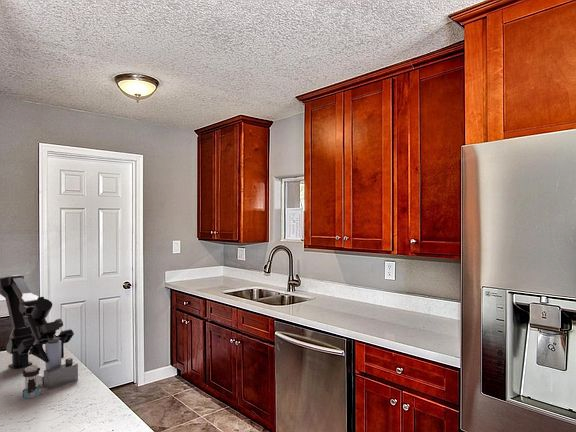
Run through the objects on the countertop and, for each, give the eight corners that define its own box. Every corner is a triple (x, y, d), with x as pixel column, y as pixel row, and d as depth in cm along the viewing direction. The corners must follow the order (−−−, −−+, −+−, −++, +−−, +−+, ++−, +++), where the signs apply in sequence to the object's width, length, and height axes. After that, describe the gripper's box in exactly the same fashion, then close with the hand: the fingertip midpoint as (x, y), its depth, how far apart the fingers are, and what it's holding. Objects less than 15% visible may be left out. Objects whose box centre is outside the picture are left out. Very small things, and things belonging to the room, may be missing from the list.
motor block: (36, 384, 154) (36, 362, 154) (64, 375, 163) (64, 354, 163) (50, 389, 150) (49, 366, 150) (77, 379, 158) (77, 358, 158)
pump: (42, 377, 157) (42, 339, 157) (56, 373, 161) (56, 336, 161) (50, 380, 154) (50, 341, 154) (64, 376, 159) (64, 338, 159)
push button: (42, 390, 149) (42, 362, 149) (46, 395, 145) (46, 366, 145) (20, 396, 144) (20, 367, 144) (24, 401, 140) (23, 371, 140)
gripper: (21, 318, 152) (37, 354, 146) (71, 308, 168) (87, 340, 162) (10, 337, 156) (26, 372, 150) (60, 325, 172) (76, 357, 166)
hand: (55, 359), depth 157 cm, fingers closed on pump, 5 cm apart
